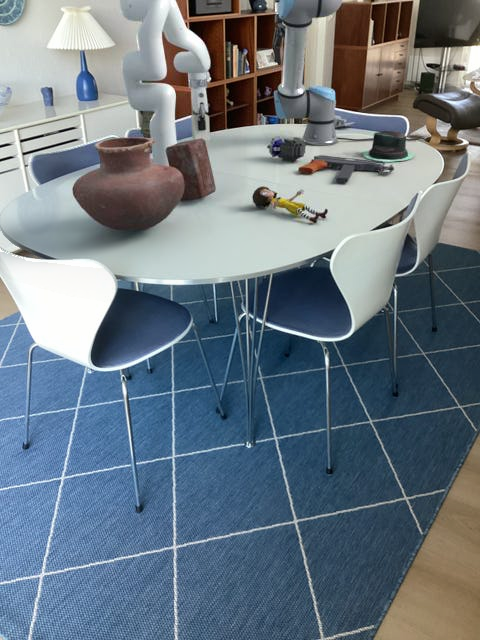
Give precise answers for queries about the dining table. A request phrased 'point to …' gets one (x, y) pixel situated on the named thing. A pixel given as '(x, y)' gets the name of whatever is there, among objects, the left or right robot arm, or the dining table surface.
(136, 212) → the clay pot
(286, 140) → the toy
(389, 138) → the dark porkpie hat
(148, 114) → the statue
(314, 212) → the figurine
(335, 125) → the camera
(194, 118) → the brick
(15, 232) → the dining table surface
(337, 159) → the submachine gun
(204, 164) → the rough terracotta slab
